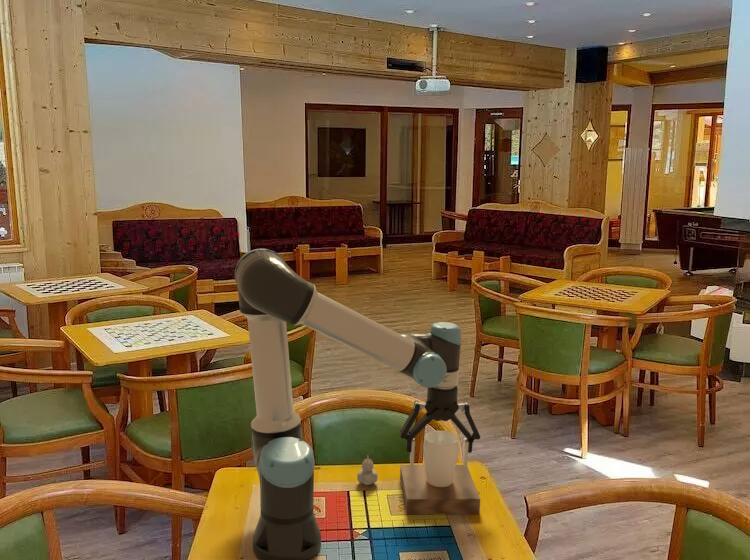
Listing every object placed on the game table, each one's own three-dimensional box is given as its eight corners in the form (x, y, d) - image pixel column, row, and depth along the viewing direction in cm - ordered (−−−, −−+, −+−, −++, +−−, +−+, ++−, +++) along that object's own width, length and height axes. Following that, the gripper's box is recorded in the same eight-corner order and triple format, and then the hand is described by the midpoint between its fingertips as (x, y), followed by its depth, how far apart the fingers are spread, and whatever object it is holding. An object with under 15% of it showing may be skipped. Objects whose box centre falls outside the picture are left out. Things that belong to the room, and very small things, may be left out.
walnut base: (406, 514, 166) (407, 499, 165) (400, 478, 183) (400, 464, 183) (479, 513, 167) (480, 499, 166) (466, 478, 184) (466, 464, 184)
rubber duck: (377, 478, 183) (377, 450, 182) (377, 490, 177) (378, 462, 175) (357, 478, 183) (357, 450, 182) (357, 490, 177) (357, 462, 175)
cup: (455, 492, 169) (458, 447, 167) (419, 487, 171) (421, 443, 168) (458, 475, 178) (460, 432, 175) (424, 471, 179) (426, 428, 177)
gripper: (394, 388, 165) (390, 469, 169) (495, 390, 166) (489, 470, 170) (391, 378, 172) (388, 456, 176) (489, 380, 174) (483, 457, 178)
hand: (438, 463), depth 173 cm, fingers open, 13 cm apart
